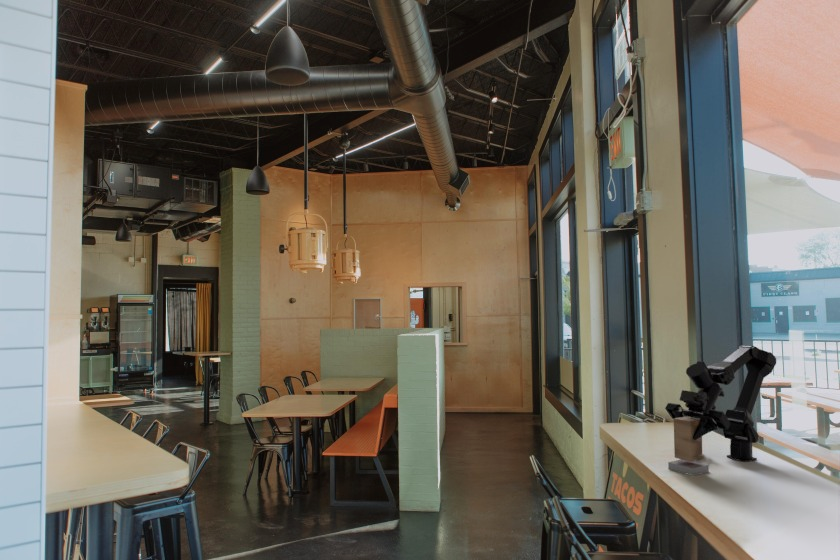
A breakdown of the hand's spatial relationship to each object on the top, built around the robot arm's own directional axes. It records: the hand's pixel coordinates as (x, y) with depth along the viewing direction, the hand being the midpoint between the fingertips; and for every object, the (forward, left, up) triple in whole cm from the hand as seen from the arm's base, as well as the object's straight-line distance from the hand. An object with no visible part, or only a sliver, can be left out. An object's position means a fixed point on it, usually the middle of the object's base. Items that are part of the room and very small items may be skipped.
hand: (685, 437), depth 167 cm
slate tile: (-1, 0, -11) cm, 11 cm away
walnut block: (-1, 0, -7) cm, 7 cm away
